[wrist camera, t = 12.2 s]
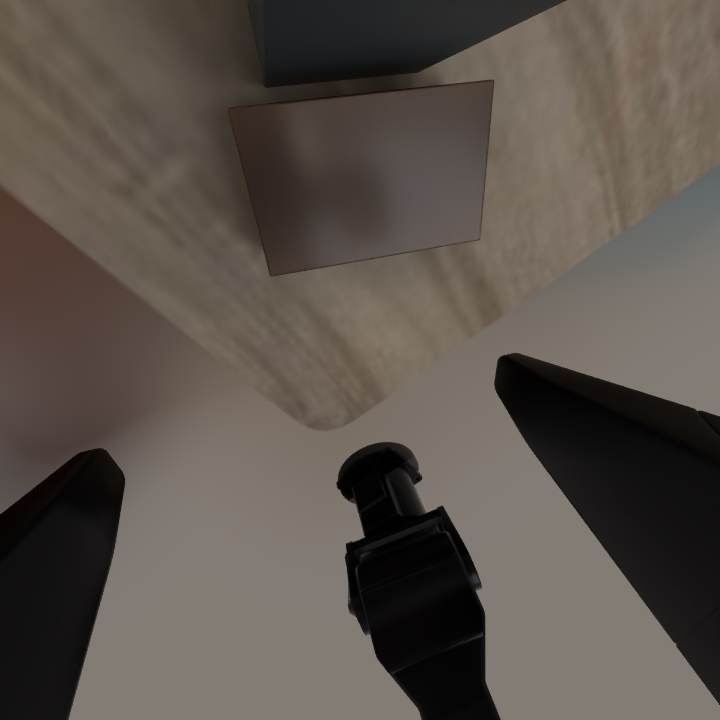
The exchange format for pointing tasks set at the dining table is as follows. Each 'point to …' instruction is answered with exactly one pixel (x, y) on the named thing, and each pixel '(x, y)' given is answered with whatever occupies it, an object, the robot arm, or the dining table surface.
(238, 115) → the metal block
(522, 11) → the bin
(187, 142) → the dining table surface
